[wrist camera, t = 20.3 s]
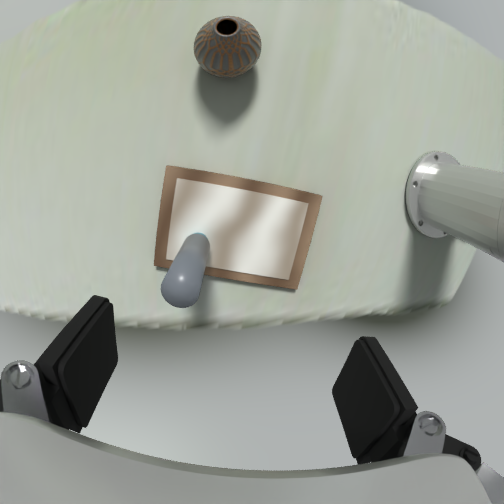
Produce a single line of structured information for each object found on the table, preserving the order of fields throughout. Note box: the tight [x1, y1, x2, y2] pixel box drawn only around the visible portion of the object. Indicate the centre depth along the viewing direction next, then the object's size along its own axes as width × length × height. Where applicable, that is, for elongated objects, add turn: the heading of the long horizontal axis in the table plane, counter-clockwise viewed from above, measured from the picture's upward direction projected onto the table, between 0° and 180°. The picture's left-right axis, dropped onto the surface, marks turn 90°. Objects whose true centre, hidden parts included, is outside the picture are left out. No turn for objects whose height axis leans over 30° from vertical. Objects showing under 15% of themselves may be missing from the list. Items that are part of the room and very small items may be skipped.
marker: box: [161, 233, 210, 308], centre depth 26 cm, size 3×3×12 cm
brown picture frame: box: [154, 166, 322, 289], centre depth 32 cm, size 18×12×1 cm, turn 78°
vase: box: [194, 16, 261, 78], centre depth 22 cm, size 7×7×9 cm
